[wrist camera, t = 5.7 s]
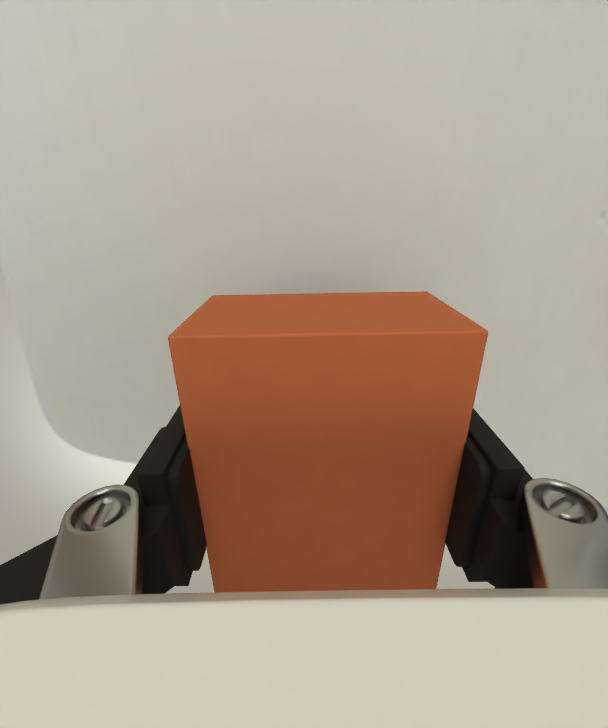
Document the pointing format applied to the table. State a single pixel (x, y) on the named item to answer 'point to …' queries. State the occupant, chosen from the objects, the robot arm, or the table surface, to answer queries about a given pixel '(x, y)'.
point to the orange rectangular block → (326, 435)
